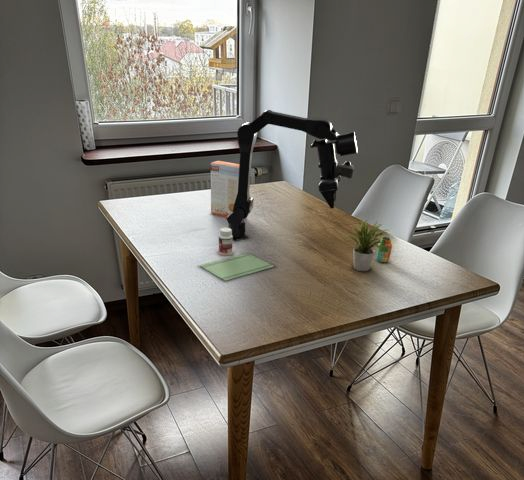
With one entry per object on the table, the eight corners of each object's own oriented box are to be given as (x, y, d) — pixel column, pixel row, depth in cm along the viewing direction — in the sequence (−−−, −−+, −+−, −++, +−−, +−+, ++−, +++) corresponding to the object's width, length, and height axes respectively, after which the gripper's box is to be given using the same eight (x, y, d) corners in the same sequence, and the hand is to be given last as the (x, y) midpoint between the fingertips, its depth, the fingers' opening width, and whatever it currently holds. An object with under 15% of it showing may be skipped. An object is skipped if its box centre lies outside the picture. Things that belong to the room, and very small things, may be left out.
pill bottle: (218, 250, 181) (218, 227, 177) (232, 250, 182) (232, 227, 177) (218, 255, 177) (218, 231, 173) (232, 255, 178) (233, 232, 173)
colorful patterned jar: (390, 259, 180) (394, 237, 176) (388, 264, 177) (392, 241, 172) (376, 257, 182) (380, 235, 177) (374, 261, 178) (378, 239, 174)
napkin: (199, 266, 169) (199, 265, 168) (248, 254, 180) (248, 253, 179) (225, 281, 160) (225, 280, 159) (274, 267, 171) (274, 266, 170)
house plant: (373, 282, 164) (381, 232, 155) (333, 271, 170) (339, 222, 161) (388, 268, 174) (397, 220, 166) (351, 258, 180) (357, 212, 172)
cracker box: (246, 217, 215) (247, 165, 204) (237, 220, 211) (238, 167, 200) (219, 210, 221) (219, 159, 210) (210, 213, 217) (209, 162, 206)
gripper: (349, 160, 164) (355, 208, 171) (351, 149, 179) (357, 194, 187) (315, 166, 167) (322, 213, 174) (320, 155, 182) (326, 199, 190)
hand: (333, 204), depth 181 cm, fingers open, 9 cm apart
